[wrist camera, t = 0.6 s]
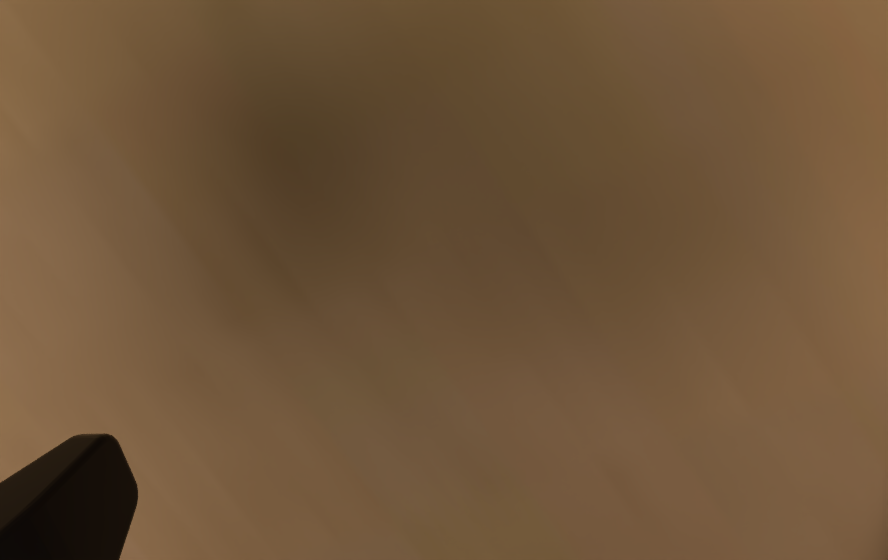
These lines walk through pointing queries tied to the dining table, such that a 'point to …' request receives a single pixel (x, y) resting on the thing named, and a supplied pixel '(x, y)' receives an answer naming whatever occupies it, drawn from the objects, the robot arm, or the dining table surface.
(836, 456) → the dining table surface
